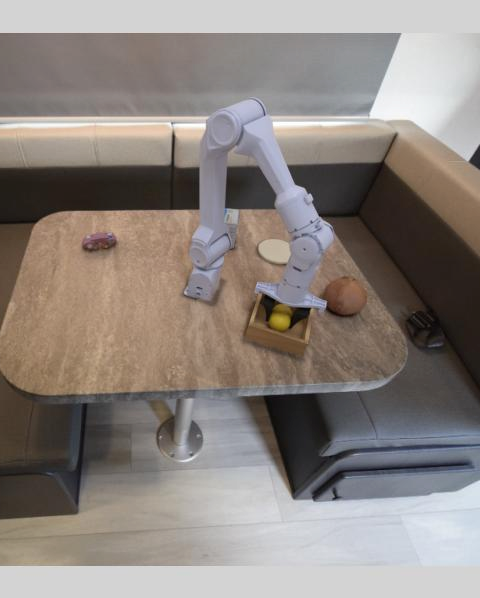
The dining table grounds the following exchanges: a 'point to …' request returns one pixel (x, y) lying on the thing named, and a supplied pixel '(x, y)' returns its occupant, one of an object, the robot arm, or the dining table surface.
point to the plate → (274, 251)
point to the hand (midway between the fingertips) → (278, 322)
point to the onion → (345, 296)
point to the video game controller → (99, 240)
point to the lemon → (280, 318)
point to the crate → (285, 340)
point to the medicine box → (232, 222)
